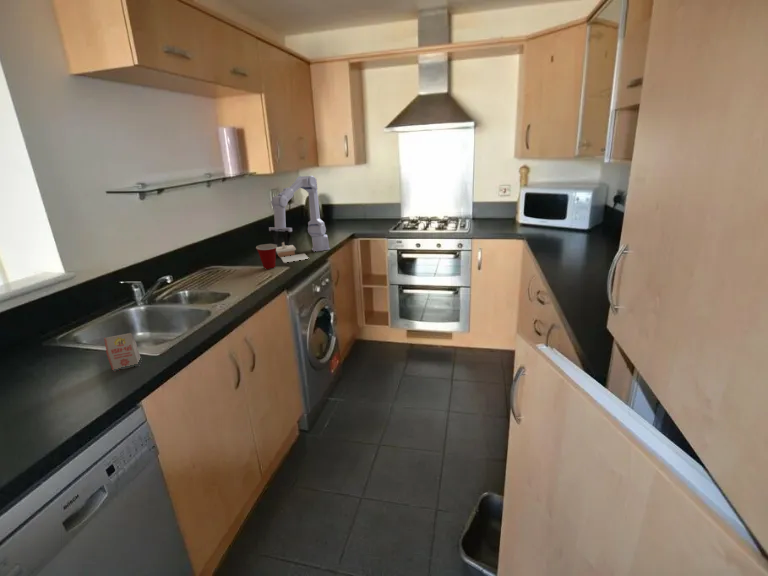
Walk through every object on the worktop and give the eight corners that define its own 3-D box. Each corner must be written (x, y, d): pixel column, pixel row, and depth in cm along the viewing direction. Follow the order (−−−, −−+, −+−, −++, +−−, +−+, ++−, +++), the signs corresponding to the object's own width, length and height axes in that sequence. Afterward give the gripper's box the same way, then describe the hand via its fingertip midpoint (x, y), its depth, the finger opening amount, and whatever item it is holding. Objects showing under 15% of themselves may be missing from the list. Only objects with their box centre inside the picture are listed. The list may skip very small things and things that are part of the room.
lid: (293, 246, 244) (292, 239, 242) (296, 250, 234) (295, 243, 233) (274, 249, 240) (273, 242, 239) (277, 252, 230) (275, 245, 229)
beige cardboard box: (116, 365, 119) (106, 335, 116) (141, 360, 121) (132, 330, 118) (112, 371, 116) (102, 340, 112) (138, 366, 118) (129, 335, 114)
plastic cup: (273, 271, 205) (269, 248, 201) (255, 270, 209) (251, 248, 205) (284, 265, 215) (281, 243, 211) (267, 264, 219) (263, 243, 215)
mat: (304, 254, 236) (304, 253, 236) (309, 259, 224) (309, 258, 223) (280, 257, 231) (280, 257, 231) (284, 263, 219) (284, 262, 219)
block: (292, 251, 244) (291, 247, 243) (294, 254, 236) (294, 250, 235) (277, 254, 241) (276, 249, 240) (279, 257, 233) (278, 252, 232)
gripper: (264, 219, 212) (265, 244, 214) (285, 219, 205) (286, 246, 207) (273, 218, 218) (274, 243, 220) (294, 219, 211) (295, 245, 213)
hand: (281, 244), depth 214 cm, fingers open, 7 cm apart
